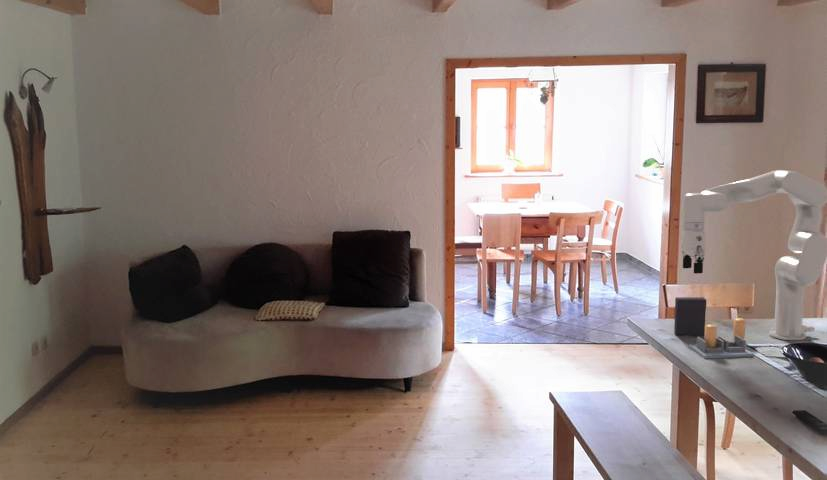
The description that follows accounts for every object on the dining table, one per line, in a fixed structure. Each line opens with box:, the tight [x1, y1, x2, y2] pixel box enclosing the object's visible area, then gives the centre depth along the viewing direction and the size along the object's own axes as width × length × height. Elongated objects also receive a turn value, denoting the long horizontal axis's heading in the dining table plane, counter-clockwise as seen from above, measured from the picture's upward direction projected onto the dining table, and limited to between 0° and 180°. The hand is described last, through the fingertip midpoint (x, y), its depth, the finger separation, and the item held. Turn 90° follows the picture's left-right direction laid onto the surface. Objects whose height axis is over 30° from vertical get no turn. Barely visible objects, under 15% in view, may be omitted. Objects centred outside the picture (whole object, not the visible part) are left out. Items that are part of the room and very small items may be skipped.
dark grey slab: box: [673, 296, 707, 337], centre depth 277 cm, size 11×4×15 cm, turn 84°
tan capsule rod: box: [732, 317, 746, 342], centre depth 266 cm, size 4×4×9 cm
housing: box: [688, 323, 755, 359], centre depth 256 cm, size 18×13×10 cm
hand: (692, 270), depth 266 cm, fingers open, 9 cm apart
